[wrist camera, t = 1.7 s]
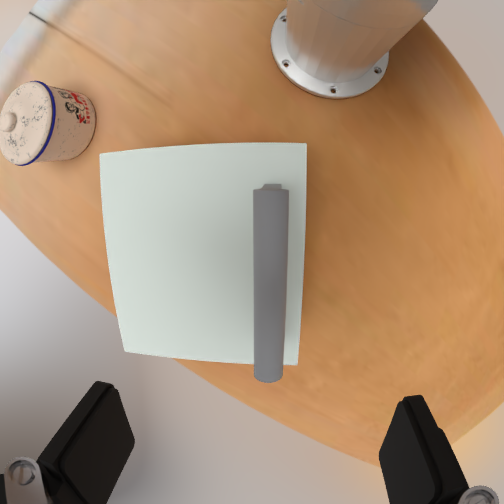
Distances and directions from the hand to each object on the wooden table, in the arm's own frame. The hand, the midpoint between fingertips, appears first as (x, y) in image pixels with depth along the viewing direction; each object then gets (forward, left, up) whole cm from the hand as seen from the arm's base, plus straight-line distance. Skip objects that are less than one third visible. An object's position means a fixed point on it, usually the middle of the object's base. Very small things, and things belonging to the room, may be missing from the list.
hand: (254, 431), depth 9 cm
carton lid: (0, -6, -17) cm, 18 cm away
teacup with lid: (-15, -26, -26) cm, 40 cm away
